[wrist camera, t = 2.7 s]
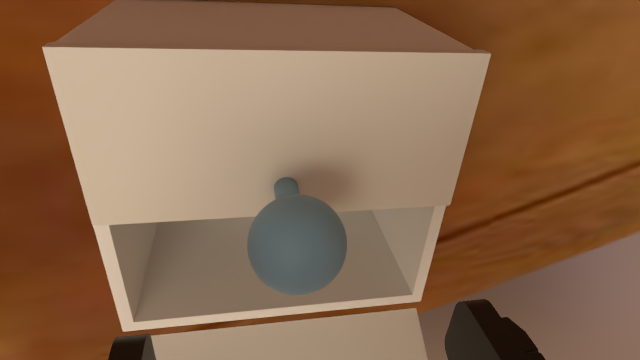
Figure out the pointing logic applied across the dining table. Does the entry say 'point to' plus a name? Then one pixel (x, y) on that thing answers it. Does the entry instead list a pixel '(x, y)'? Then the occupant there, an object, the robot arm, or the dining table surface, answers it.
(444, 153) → the flap with blue knob
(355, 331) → the flap open
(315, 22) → the carton
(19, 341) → the dining table surface
